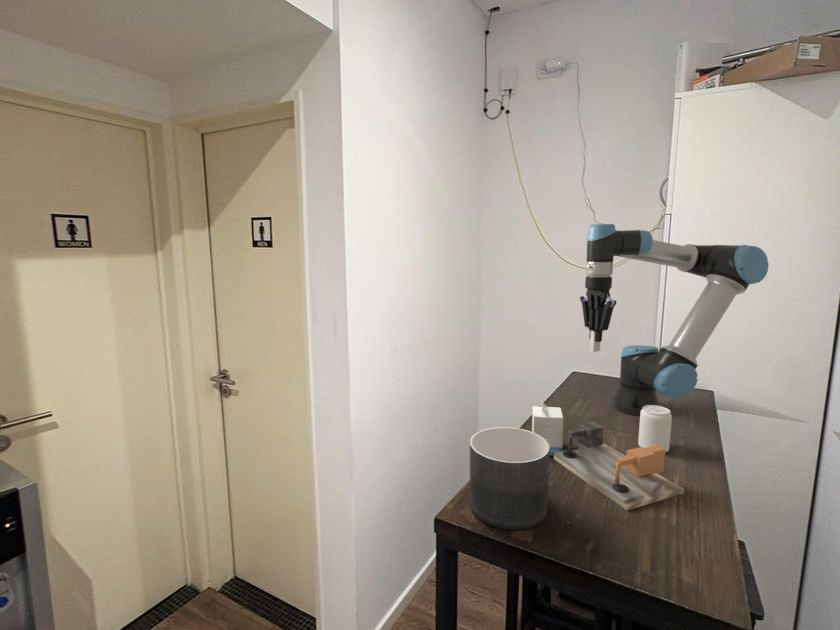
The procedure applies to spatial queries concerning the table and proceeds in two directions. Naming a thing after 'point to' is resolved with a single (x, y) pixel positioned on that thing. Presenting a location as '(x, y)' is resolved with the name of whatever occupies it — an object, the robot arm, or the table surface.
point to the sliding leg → (641, 461)
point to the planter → (509, 477)
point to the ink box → (549, 426)
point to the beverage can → (655, 427)
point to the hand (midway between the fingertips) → (594, 350)
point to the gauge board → (611, 470)
